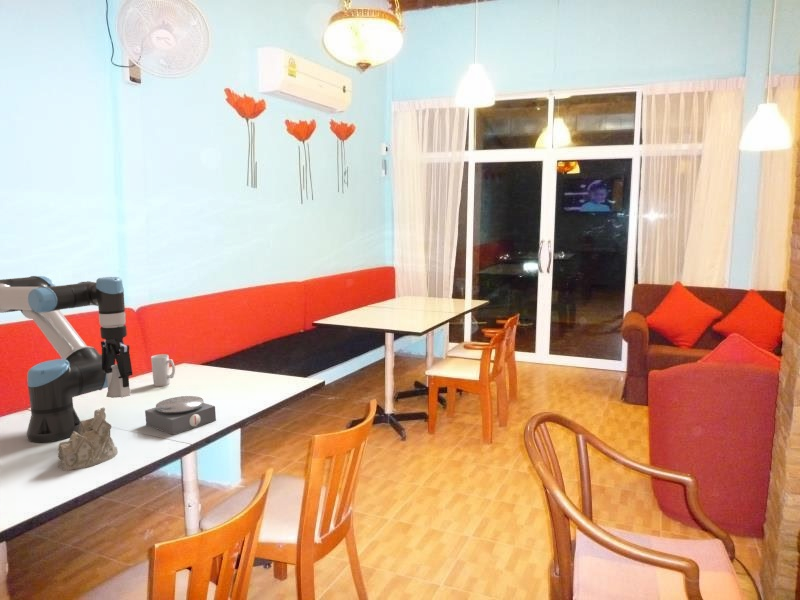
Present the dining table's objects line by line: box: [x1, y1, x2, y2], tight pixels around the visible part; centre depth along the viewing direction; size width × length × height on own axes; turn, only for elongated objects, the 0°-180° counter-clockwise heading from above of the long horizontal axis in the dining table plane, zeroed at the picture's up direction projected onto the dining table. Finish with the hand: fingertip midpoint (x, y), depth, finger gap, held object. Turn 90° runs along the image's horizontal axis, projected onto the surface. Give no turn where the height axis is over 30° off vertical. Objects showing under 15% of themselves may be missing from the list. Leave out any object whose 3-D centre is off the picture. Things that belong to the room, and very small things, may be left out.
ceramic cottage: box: [57, 407, 119, 471], centre depth 168 cm, size 16×16×15 cm
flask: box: [105, 363, 132, 399], centre depth 189 cm, size 7×7×10 cm
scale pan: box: [155, 395, 205, 413], centre depth 195 cm, size 15×15×1 cm
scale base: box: [144, 402, 217, 436], centre depth 196 cm, size 16×16×6 cm
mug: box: [150, 353, 176, 387], centre depth 241 cm, size 10×7×12 cm, turn 76°
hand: (118, 394), depth 190 cm, fingers closed on flask, 7 cm apart
